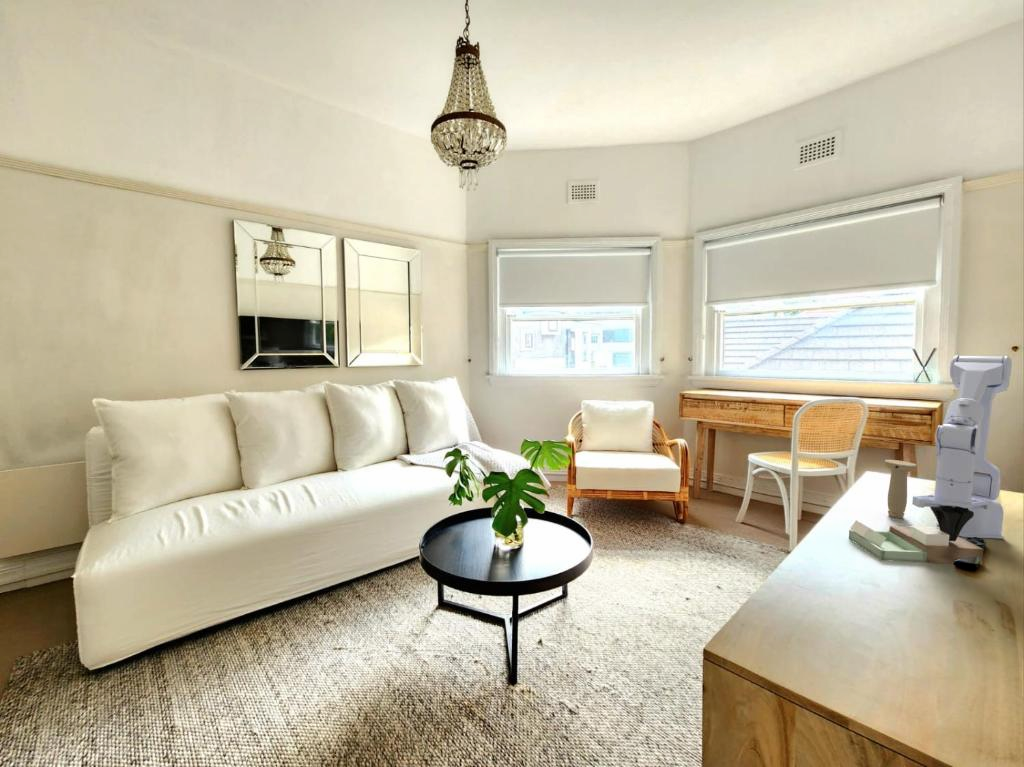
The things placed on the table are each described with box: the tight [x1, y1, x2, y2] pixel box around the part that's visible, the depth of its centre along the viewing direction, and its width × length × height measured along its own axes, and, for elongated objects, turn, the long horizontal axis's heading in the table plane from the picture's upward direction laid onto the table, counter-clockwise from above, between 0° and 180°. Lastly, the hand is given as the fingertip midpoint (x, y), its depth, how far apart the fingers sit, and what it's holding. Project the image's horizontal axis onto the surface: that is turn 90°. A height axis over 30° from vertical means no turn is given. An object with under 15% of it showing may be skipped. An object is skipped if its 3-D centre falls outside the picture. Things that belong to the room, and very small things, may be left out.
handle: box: [884, 459, 917, 519], centre depth 122 cm, size 5×6×15 cm
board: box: [889, 525, 984, 566], centre depth 102 cm, size 11×11×4 cm
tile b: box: [909, 525, 949, 546], centre depth 99 cm, size 4×4×2 cm
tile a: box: [849, 520, 886, 547], centre depth 106 cm, size 4×4×2 cm
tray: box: [848, 529, 927, 563], centre depth 103 cm, size 9×11×2 cm
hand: (948, 539), depth 99 cm, fingers closed
